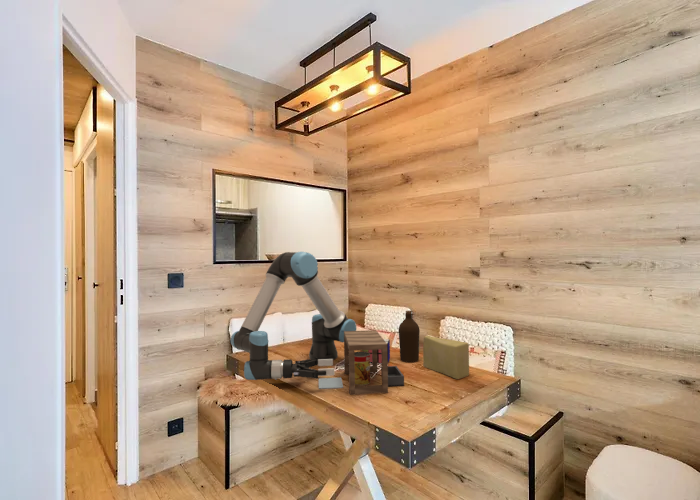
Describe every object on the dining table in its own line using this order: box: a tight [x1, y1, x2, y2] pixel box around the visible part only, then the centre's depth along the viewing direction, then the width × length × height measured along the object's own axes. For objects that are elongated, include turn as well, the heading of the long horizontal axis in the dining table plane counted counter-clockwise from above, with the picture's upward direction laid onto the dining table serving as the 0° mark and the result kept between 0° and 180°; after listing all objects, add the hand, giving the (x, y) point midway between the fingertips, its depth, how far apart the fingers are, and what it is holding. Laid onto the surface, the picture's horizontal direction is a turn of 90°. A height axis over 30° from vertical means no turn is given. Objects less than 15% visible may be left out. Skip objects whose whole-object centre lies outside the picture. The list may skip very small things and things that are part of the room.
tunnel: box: [343, 329, 389, 396], centre depth 158 cm, size 27×15×19 cm, turn 5°
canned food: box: [354, 351, 371, 386], centre depth 158 cm, size 8×8×12 cm
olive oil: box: [398, 310, 420, 363], centre depth 190 cm, size 11×11×25 cm
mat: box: [318, 376, 344, 390], centre depth 157 cm, size 12×10×1 cm
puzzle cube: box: [368, 338, 391, 364], centre depth 190 cm, size 10×10×10 cm
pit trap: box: [380, 365, 405, 388], centre depth 160 cm, size 14×7×4 cm, turn 5°
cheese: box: [422, 335, 470, 380], centre depth 170 cm, size 22×10×15 cm, turn 39°
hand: (333, 366), depth 157 cm, fingers open, 13 cm apart
